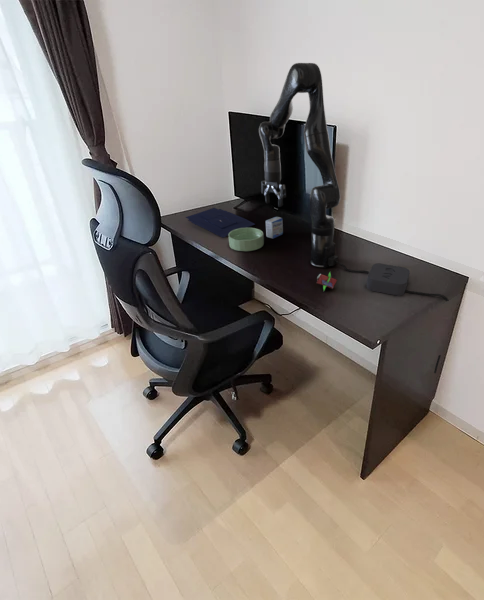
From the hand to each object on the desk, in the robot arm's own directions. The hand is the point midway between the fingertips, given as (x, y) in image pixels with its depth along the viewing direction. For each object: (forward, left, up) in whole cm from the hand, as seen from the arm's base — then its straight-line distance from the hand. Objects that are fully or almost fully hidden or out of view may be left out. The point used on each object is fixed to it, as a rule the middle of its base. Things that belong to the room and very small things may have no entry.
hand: (274, 204), depth 176 cm
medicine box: (0, 0, -16) cm, 16 cm away
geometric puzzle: (-52, +25, -16) cm, 60 cm away
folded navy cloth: (+32, +9, -16) cm, 37 cm away
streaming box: (-68, +7, -16) cm, 70 cm away
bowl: (+2, +17, -16) cm, 23 cm away
